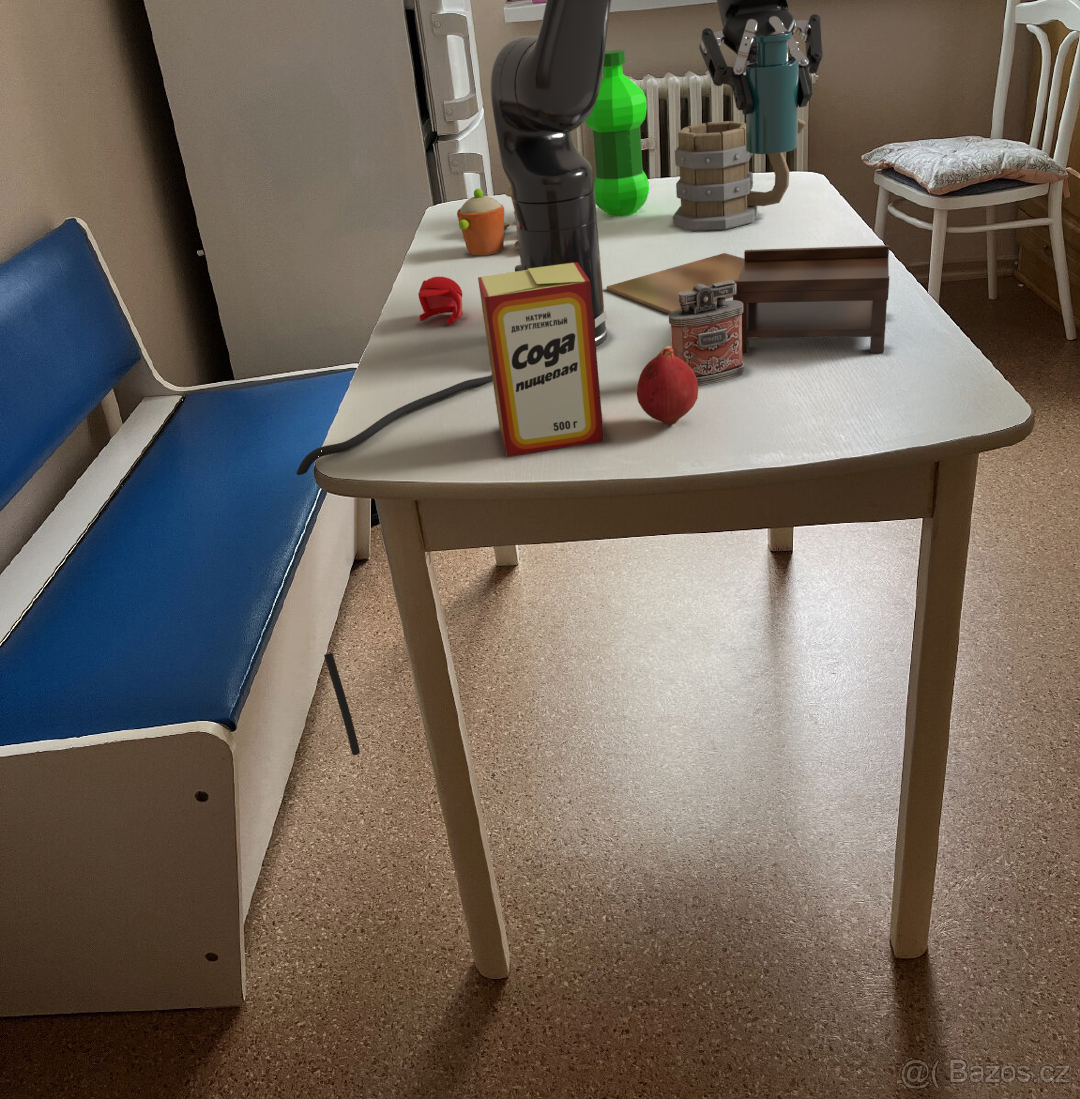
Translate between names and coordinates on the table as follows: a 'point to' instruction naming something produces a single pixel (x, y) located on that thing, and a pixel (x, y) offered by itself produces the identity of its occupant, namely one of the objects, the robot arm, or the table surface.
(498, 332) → the baking soda box
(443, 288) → the red toy helmet
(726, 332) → the lighter
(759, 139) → the vase
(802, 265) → the rack
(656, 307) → the placemat
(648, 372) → the onion
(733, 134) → the tankard
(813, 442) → the table surface
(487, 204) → the toy tea set
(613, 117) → the plastic bottle
